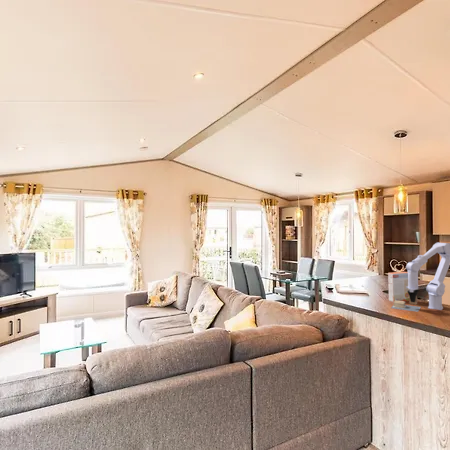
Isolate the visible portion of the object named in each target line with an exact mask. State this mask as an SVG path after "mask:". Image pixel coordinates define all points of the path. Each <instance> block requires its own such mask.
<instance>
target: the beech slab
mask: <svg viewBox="0 0 450 450" xmlns="http://www.w3.org/2000/svg"><path fill="white" fill-rule="evenodd" d="M393 305H394V307H400V308H404V307H405V305H406V301H394V302H393Z"/></svg>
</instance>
